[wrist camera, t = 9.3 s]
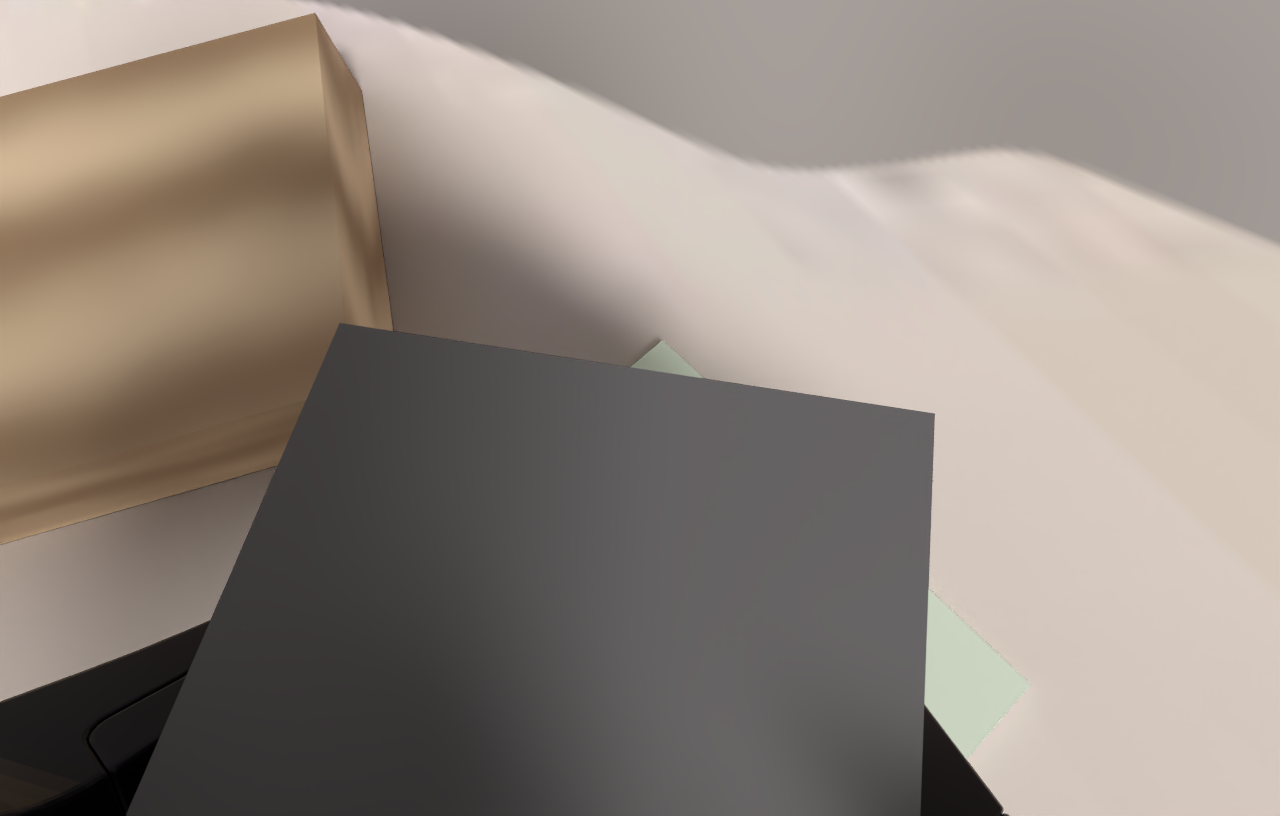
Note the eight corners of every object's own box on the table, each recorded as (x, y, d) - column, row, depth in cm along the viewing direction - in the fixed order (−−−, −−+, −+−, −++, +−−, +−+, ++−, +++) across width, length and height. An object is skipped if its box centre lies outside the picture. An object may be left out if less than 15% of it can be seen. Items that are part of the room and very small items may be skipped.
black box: (748, 843, 11) (908, 1410, 3) (488, 774, 12) (10, 1062, 4) (782, 564, 13) (941, 408, 5) (554, 520, 14) (336, 316, 5)
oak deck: (406, 428, 17) (351, 387, 15) (-77, 566, 17) (-227, 550, 14) (361, 90, 23) (315, 12, 20) (-8, 190, 22) (-108, 125, 20)
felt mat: (628, 1145, 11) (626, 1161, 11) (316, 641, 15) (307, 641, 15) (1021, 683, 14) (1031, 684, 13) (663, 346, 18) (662, 339, 17)
